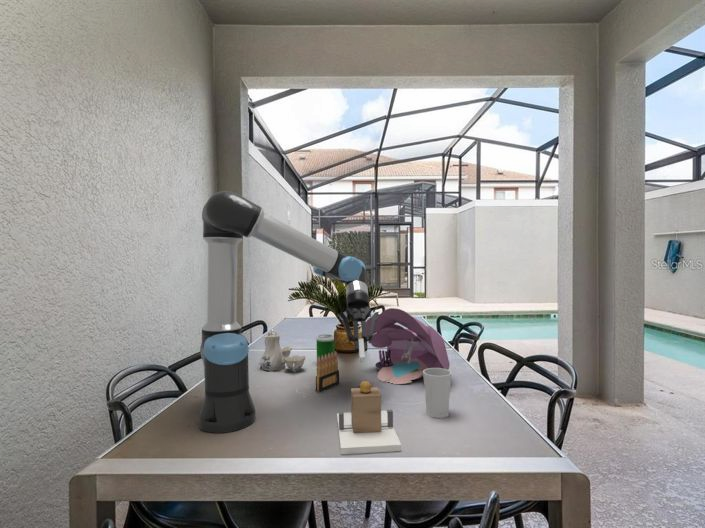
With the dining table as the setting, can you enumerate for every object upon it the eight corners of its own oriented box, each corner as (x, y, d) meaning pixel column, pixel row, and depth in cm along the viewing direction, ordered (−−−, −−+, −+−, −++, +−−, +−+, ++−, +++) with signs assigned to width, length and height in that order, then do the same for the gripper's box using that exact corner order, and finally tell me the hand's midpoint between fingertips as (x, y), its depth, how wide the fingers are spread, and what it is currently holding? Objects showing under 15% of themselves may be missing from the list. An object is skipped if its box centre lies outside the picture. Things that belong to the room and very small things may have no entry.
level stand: (336, 418, 109) (336, 399, 109) (386, 416, 111) (386, 396, 111) (341, 454, 90) (340, 430, 89) (401, 451, 91) (400, 427, 91)
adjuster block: (351, 422, 103) (350, 378, 103) (377, 421, 103) (377, 377, 103) (353, 432, 97) (352, 385, 97) (381, 431, 97) (380, 384, 97)
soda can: (338, 364, 164) (337, 336, 164) (322, 367, 160) (322, 338, 159) (328, 360, 170) (328, 333, 170) (313, 363, 166) (313, 335, 166)
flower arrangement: (355, 390, 146) (340, 319, 142) (379, 362, 167) (367, 299, 163) (447, 396, 130) (433, 315, 125) (462, 364, 150) (450, 294, 146)
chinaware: (312, 376, 154) (315, 333, 155) (272, 379, 145) (275, 334, 146) (284, 360, 178) (287, 324, 178) (248, 362, 169) (251, 324, 169)
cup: (434, 421, 107) (433, 377, 107) (417, 410, 114) (417, 370, 114) (457, 416, 110) (457, 373, 110) (440, 406, 117) (440, 366, 117)
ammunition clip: (319, 392, 130) (319, 357, 130) (315, 391, 132) (314, 356, 131) (339, 384, 139) (339, 350, 139) (335, 383, 140) (335, 349, 140)
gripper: (375, 304, 135) (382, 365, 119) (337, 304, 134) (339, 366, 118) (377, 290, 130) (385, 352, 114) (338, 290, 129) (340, 353, 113)
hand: (362, 359), depth 116 cm, fingers closed
